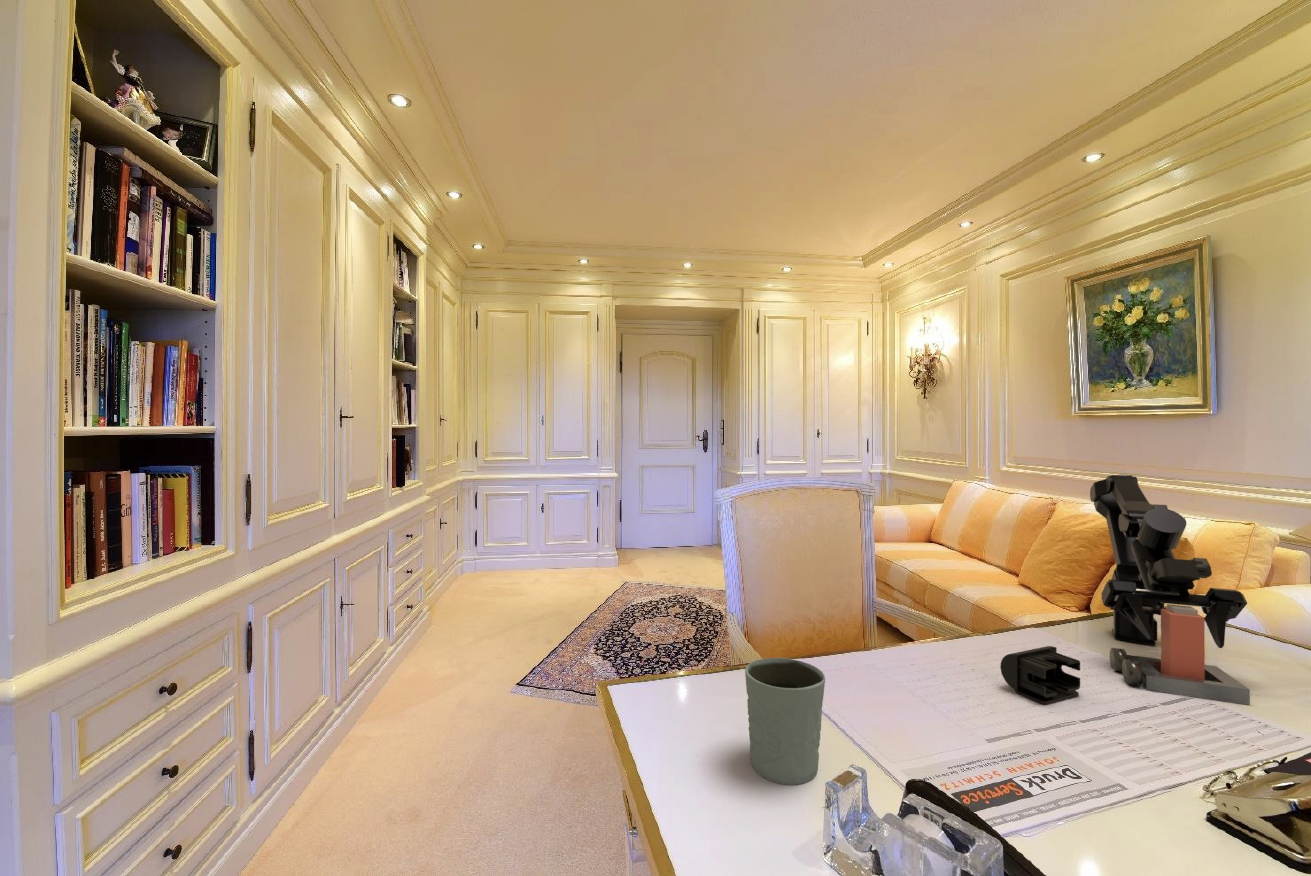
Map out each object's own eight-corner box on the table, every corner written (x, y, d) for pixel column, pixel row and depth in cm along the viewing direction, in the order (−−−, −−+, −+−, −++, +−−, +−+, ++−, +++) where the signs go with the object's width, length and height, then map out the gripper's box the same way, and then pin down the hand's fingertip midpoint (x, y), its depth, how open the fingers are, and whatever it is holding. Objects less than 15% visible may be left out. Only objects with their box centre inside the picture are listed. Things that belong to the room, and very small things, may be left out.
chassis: (1109, 665, 103) (1109, 644, 103) (1216, 680, 97) (1215, 657, 97) (1130, 687, 94) (1130, 664, 94) (1249, 705, 88) (1249, 680, 88)
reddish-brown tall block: (1160, 678, 97) (1160, 602, 97) (1193, 683, 95) (1193, 606, 96) (1170, 686, 94) (1170, 608, 94) (1204, 691, 92) (1204, 611, 92)
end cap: (1038, 678, 97) (1038, 640, 97) (1082, 696, 91) (1082, 655, 91) (999, 688, 94) (999, 648, 94) (1042, 706, 87) (1042, 664, 87)
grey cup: (737, 777, 68) (738, 681, 68) (752, 736, 78) (752, 652, 78) (822, 796, 65) (822, 694, 65) (826, 750, 74) (827, 662, 74)
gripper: (1106, 536, 102) (1130, 612, 92) (1240, 544, 95) (1282, 627, 85) (1092, 569, 109) (1112, 643, 99) (1216, 579, 102) (1251, 659, 92)
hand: (1185, 642), depth 94 cm, fingers open, 9 cm apart
